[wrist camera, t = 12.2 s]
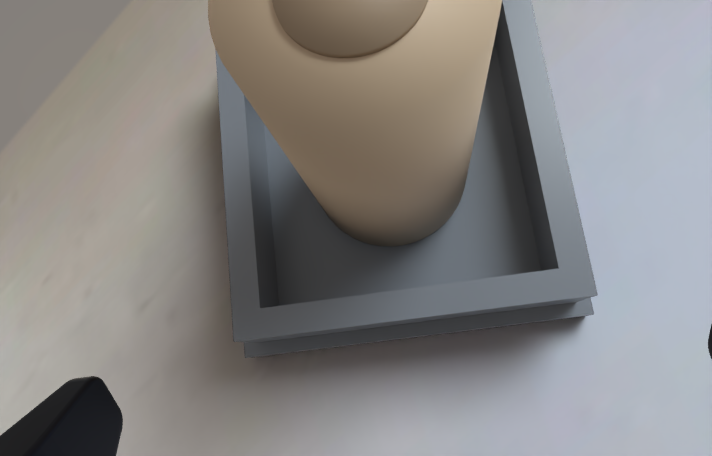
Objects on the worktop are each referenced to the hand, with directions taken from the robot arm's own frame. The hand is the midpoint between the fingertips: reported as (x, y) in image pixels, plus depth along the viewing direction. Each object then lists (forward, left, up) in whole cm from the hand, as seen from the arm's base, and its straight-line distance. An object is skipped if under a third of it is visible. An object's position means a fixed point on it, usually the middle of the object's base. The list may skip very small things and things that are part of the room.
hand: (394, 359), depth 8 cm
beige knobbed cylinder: (+1, +7, -12) cm, 14 cm away
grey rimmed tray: (+1, +7, -13) cm, 15 cm away
